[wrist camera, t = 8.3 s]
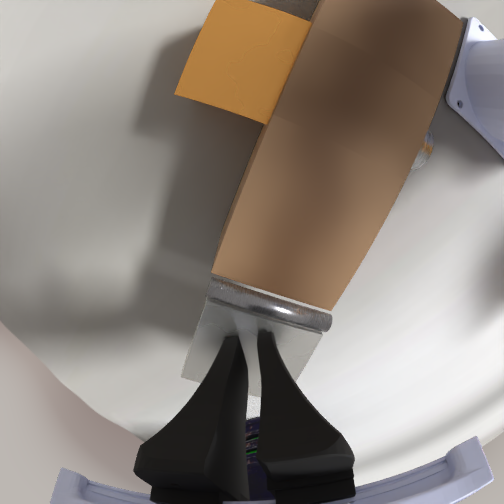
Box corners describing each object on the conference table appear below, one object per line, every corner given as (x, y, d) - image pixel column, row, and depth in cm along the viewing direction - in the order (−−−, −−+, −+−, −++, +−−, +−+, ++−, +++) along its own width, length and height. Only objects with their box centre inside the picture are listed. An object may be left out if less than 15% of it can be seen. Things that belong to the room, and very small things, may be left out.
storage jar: (223, 444, 29) (216, 551, 16) (246, 408, 25) (242, 552, 11) (298, 451, 30) (306, 550, 17) (335, 417, 26) (356, 541, 13)
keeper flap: (328, 310, 13) (334, 319, 13) (282, 392, 15) (285, 403, 14) (212, 273, 13) (211, 281, 12) (180, 366, 14) (178, 377, 13)
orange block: (192, 98, 13) (174, 94, 10) (227, 18, 11) (219, -7, 8) (390, 182, 15) (420, 201, 12) (422, 110, 13) (458, 114, 10)
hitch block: (418, 36, 11) (463, 22, 7) (314, 264, 18) (330, 311, 13) (326, -15, 10) (350, -51, 6) (221, 231, 17) (210, 272, 12)
